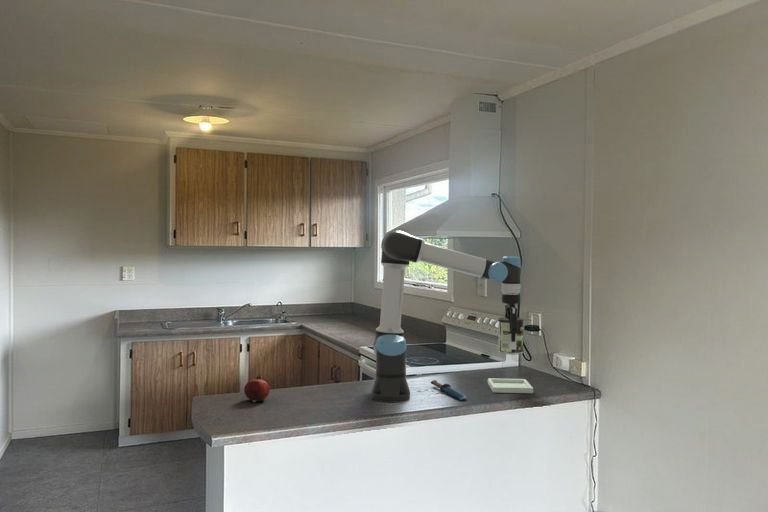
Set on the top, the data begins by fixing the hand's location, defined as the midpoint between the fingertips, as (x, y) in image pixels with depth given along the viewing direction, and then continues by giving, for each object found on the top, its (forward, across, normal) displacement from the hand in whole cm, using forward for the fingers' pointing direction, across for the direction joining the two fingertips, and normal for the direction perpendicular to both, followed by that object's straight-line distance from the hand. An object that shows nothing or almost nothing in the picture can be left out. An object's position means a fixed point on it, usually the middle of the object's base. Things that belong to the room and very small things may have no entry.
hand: (510, 347), depth 240 cm
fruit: (+17, -28, +99) cm, 104 cm away
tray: (+17, 0, 0) cm, 17 cm away
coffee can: (+2, 0, 0) cm, 2 cm away
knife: (+17, -11, +26) cm, 33 cm away
